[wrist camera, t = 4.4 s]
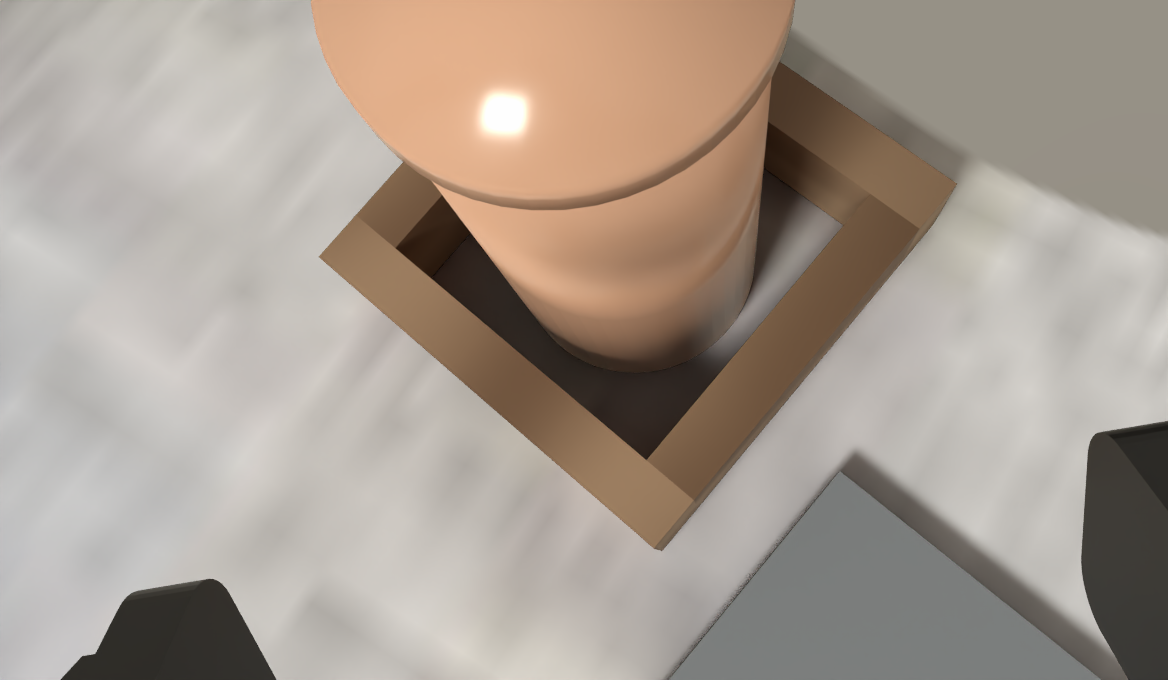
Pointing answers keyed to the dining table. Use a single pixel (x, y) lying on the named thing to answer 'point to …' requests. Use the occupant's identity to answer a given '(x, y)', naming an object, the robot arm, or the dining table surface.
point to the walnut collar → (750, 379)
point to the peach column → (583, 149)
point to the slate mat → (869, 610)
